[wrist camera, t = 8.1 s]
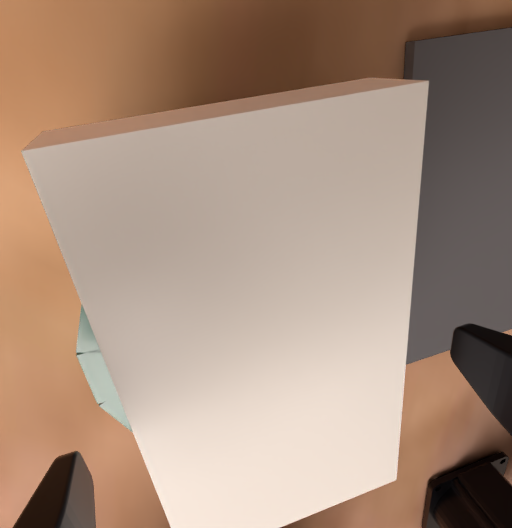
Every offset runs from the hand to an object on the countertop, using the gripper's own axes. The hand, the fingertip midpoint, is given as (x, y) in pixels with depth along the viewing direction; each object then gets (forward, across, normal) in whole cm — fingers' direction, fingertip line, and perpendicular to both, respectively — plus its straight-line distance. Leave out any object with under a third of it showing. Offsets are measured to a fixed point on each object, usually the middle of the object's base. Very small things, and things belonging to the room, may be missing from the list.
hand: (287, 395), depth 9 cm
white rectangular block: (+2, 0, 0) cm, 3 cm away
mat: (+8, -13, +1) cm, 15 cm away
